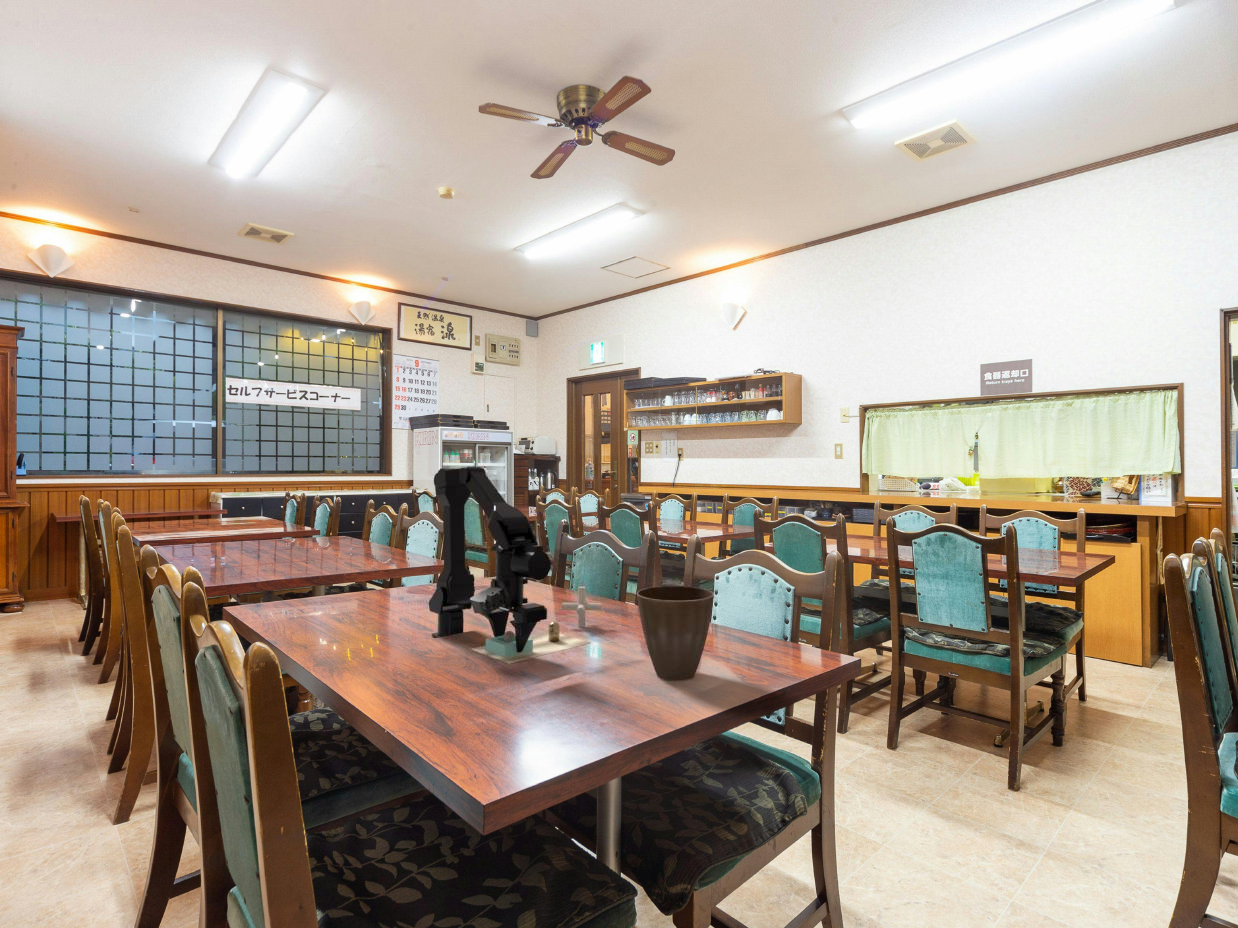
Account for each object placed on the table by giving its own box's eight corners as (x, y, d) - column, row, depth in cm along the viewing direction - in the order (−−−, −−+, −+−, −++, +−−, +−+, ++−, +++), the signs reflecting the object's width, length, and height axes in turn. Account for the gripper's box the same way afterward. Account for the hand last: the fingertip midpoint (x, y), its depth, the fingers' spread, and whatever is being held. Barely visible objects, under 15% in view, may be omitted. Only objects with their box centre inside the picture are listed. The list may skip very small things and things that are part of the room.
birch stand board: (470, 655, 137) (470, 628, 137) (551, 637, 152) (552, 613, 152) (508, 671, 127) (508, 641, 127) (591, 649, 142) (591, 623, 142)
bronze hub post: (546, 640, 144) (546, 621, 144) (554, 638, 145) (554, 620, 145) (553, 642, 142) (553, 623, 142) (561, 640, 143) (561, 621, 144)
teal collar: (485, 650, 135) (485, 638, 135) (513, 644, 140) (513, 633, 140) (504, 658, 130) (505, 645, 130) (532, 651, 135) (532, 639, 135)
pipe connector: (600, 632, 157) (600, 591, 158) (559, 631, 158) (560, 590, 158) (602, 622, 167) (602, 583, 168) (564, 621, 168) (564, 583, 168)
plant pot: (666, 693, 115) (666, 603, 115) (621, 670, 127) (622, 589, 127) (729, 679, 123) (730, 595, 123) (681, 659, 135) (682, 583, 135)
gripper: (452, 572, 136) (451, 646, 136) (503, 584, 123) (502, 666, 123) (497, 567, 144) (496, 637, 144) (549, 578, 131) (548, 655, 131)
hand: (509, 648), depth 135 cm, fingers closed on teal collar, 7 cm apart
